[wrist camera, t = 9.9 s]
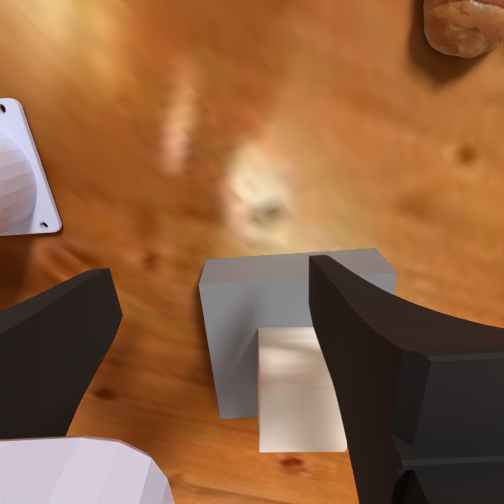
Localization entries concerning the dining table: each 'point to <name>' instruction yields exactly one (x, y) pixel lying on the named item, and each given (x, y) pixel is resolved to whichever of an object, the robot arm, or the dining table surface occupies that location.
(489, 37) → the pastry
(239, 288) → the gray panel
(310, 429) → the cream block
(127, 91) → the dining table surface
